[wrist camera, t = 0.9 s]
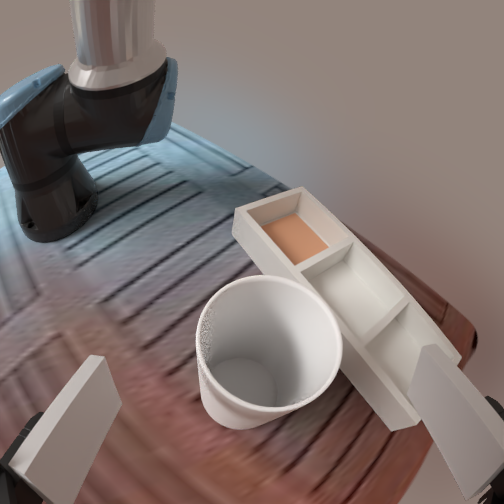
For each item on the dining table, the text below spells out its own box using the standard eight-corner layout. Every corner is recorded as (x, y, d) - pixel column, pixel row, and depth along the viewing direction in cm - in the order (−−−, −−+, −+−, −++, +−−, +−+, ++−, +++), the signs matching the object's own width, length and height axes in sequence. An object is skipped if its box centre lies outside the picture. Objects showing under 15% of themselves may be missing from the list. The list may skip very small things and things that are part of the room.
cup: (199, 357, 29) (195, 274, 17) (273, 354, 30) (325, 273, 18) (203, 431, 24) (199, 417, 12) (284, 425, 25) (357, 397, 13)
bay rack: (231, 234, 41) (235, 208, 37) (295, 209, 46) (303, 185, 42) (391, 431, 25) (416, 424, 21) (439, 369, 31) (462, 356, 27)
